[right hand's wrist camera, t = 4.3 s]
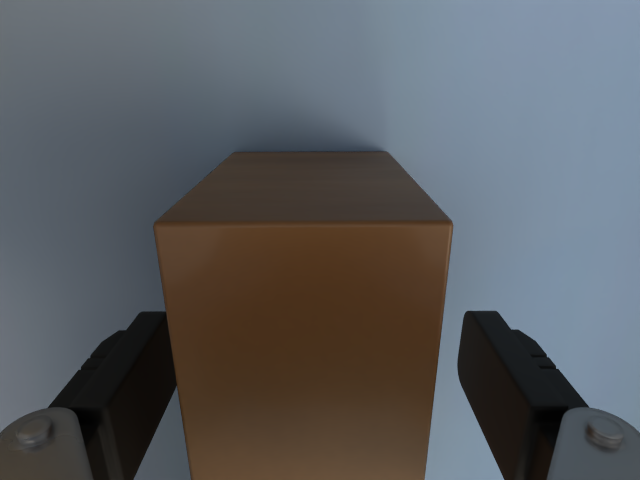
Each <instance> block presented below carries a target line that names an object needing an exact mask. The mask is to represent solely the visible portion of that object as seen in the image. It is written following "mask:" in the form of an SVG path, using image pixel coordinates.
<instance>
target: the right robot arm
mask: <svg viewBox="0 0 640 480" xmlns="http://www.w3.org/2000/svg"><path fill="white" fill-rule="evenodd" d="M458 375H459V380H460V383H461V386H462V388H463V390H464V392H465V394H466V397H467V399H468V401H469V403H470V405H471V408H472V410H473V412H474V414H475V416H476V419H477V421H478V423H479V425H480V427H481V429H482V432H483V434H484V436H485V438H486V440H487V443H488V445H489V447H490V449H491V451H492V454H493V456H494V458H495V460H496V462H497V465H498V467H499V469H500V471H501V473H502V475H503V478H504V480H640V433H639V432H638V431H637V430H636V429H635V428H634V427H633V426H631V425H630V424H629V423H627V422H626V421H624V420H623V419H621V418H619V417H617V416H615V415H613V414H610V413H608V412H605V411H602V410H599V409H594V408H589V406H588V405H587V404H586V403H585V401H584V400H583V399H582V398H581V396H580V395H579V394H578V393H577V392H576V390H575V389H574V388H573V387H572V385H571V384H570V383H569V382H568V380H567V379H566V378H565V377H564V376H563V374H562V373H561V372H560V371H559V369H556V366H555V364H554V363H553V362H552V361H551V360H550V358H549V357H547V355H546V353H545V352H544V351H543V350H542V348H541V347H540V346H539V345H538V344H537V342H536V341H535V340H533V339H532V338H530V337H529V336H527V335H526V334H524V333H523V332H521V331H519V330H511V329H510V327H509V326H508V325H507V323H506V322H505V321H504V319H503V318H502V317H501V316H500V314H499V313H498V312H497V311H467V312H466V313H465V315H464V318H463V325H462V332H461V339H460V347H459V354H458ZM176 386H177V381H176V375H175V368H174V361H173V355H172V348H171V341H170V335H169V328H168V321H167V315H166V312H140V313H139V314H138V316H137V317H136V318H135V319H134V321H133V322H132V323H131V325H130V326H129V327H128V329H127V330H119V331H118V332H116V333H115V334H113V335H112V336H110V337H109V338H107V339H106V340H104V341H103V342H101V343H100V345H99V346H98V347H97V348H96V350H95V351H94V352H93V353H92V354H91V357H90V358H88V359H87V361H86V362H85V363H84V364H83V365H82V367H81V370H78V371H77V373H76V374H75V375H74V376H73V378H72V379H71V380H70V381H69V382H68V384H67V385H66V386H65V387H64V389H63V390H62V391H61V392H60V393H59V395H58V396H57V397H56V398H55V400H54V401H53V402H52V403H51V404H50V406H49V407H48V408H46V409H41V410H38V411H35V412H32V413H30V414H27V415H25V416H23V417H21V418H19V419H17V420H16V421H14V422H13V423H11V424H10V425H9V426H7V427H6V428H5V429H4V430H3V431H2V432H1V433H0V480H133V479H134V477H135V475H136V473H137V470H138V468H139V466H140V464H141V462H142V460H143V457H144V455H145V453H146V451H147V449H148V447H149V444H150V442H151V440H152V438H153V436H154V434H155V431H156V429H157V427H158V425H159V423H160V421H161V418H162V416H163V414H164V412H165V410H166V408H167V406H168V403H169V401H170V399H171V397H172V395H173V393H174V390H175V388H176Z"/></svg>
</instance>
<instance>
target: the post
mask: <svg viewBox="0 0 640 480" xmlns="http://www.w3.org/2000/svg"><path fill="white" fill-rule="evenodd" d="M153 228H154V235H155V241H156V248H157V255H158V261H159V268H160V275H161V281H162V288H163V295H164V301H165V308H166V315H167V321H168V328H169V335H170V341H171V348H172V355H173V361H174V368H175V375H176V381H177V388H178V395H179V401H180V408H181V415H182V421H183V428H184V435H185V442H186V448H187V455H188V462H189V468H190V475H191V480H424V479H425V471H426V462H427V453H428V444H429V435H430V427H431V418H432V409H433V400H434V391H435V383H436V374H437V365H438V356H439V347H440V339H441V330H442V321H443V312H444V303H445V295H446V286H447V277H448V268H449V260H450V251H451V242H452V233H453V223H452V221H451V220H450V218H449V217H448V216H447V215H446V214H445V213H444V212H443V211H442V210H441V209H440V208H439V207H438V205H437V204H436V203H435V202H434V201H433V200H432V199H431V198H430V197H429V196H428V195H427V194H426V193H425V191H424V190H423V189H422V188H421V187H420V186H419V185H418V184H417V183H416V182H415V181H414V180H413V178H412V177H411V176H410V175H409V174H408V173H407V172H406V171H405V170H404V169H403V168H402V167H401V165H400V164H399V163H398V162H397V161H396V160H395V159H394V158H393V157H392V156H391V155H390V154H389V153H388V152H234V153H232V154H231V155H230V156H229V157H228V158H227V159H225V160H224V161H223V162H222V163H221V164H220V165H219V166H217V167H216V168H215V169H214V170H213V171H212V172H211V173H210V174H208V175H207V176H206V177H205V178H204V179H203V180H202V181H201V182H199V183H198V184H197V185H196V186H195V187H194V188H193V189H192V190H190V191H189V192H188V193H187V194H186V195H185V196H184V197H183V198H181V199H180V200H179V201H178V202H177V203H176V204H175V205H174V206H172V207H171V208H170V209H169V210H168V211H167V212H166V213H165V214H163V215H162V216H161V217H160V218H159V219H158V220H157V221H155V222H154V226H153Z"/></svg>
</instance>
